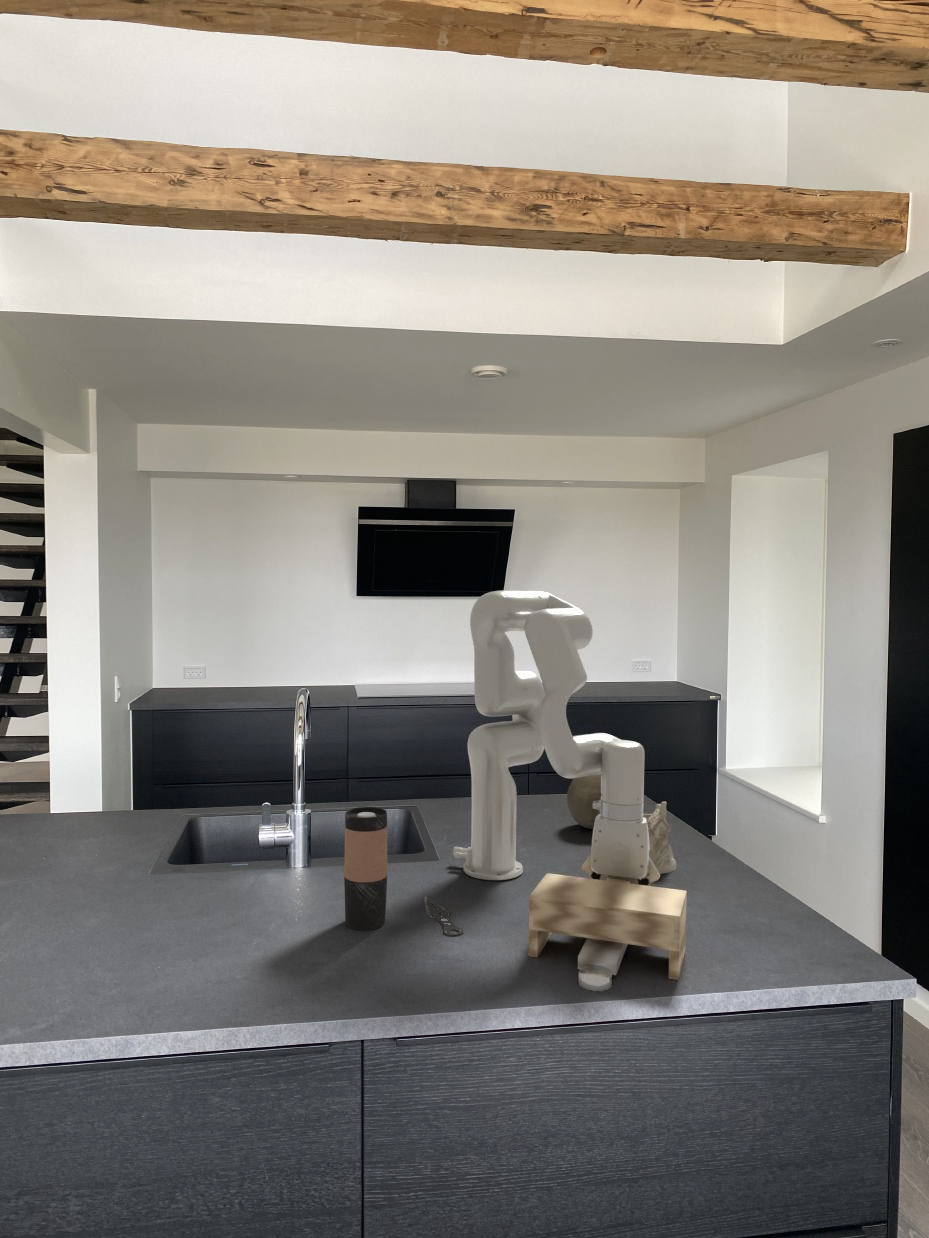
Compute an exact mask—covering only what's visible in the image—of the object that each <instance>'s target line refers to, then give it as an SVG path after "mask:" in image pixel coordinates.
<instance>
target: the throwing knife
mask: <svg viewBox="0 0 929 1238" xmlns="http://www.w3.org/2000/svg"><path fill="white" fill-rule="evenodd" d="M433 905H434V906H433ZM424 906H425V907H426V908H425V910H426V911H427V912H426V914H427V916H428V915H429V916H432V917H435V918H434V919H435V920H437V919H438V920H439V921H438V920H437V921H438V922H439V924H440V923H441V924H442V925H441V924H440V925H441V927H442V928H443V929H444V930H443V929H442V930H443V935H445V936H447V935H449V936H448V937H458V936H457V935H459V936H462V935H463V934H464V930H463V928H461V927H459V926H457V925H455V923H453V921H452V920H451V919H450V918H449V916H448V914H450V913H451V912H450V911H449V910H447V909H446V908H444V907H443V906H442V905H441V904H439V903H437V902H436V901H434V900H433V899H431V898H429V897H428V896H424ZM435 908H436V909H435ZM449 912H450V913H449ZM450 915H451V914H450ZM429 916H428V917H429ZM441 916H442V917H441ZM432 917H431V918H432ZM441 919H447V920H448V921H441ZM444 923H450V924H451V925H448V924H444ZM453 930H455V931H454V932H455V933H452V932H451V931H453ZM449 931H450V932H449ZM457 931H459V932H457ZM461 934H462V935H461Z"/></svg>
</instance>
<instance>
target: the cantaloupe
mask: <svg viewBox="0 0 929 1238" xmlns="http://www.w3.org/2000/svg"><path fill="white" fill-rule="evenodd" d="M570 782H571V783H570V785H569V786H568V788H567V789H568V790H567V793H566V794H567V795H566V803H567V807H568V810H569V811H568V812H570V815H571V818H572V819H573V821H575V822H576V823H577V824H578V825H580V826H581V827H583V828H585V829H590V830H593V829H594V823H595V819H596V816H597V815H599V814H600V811H599V810H597V809H594V808H593V801H599V800H600V799H601V774H598V775H590V776H584V777H579V778H572V781H570Z"/></svg>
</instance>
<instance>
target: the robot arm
mask: <svg viewBox="0 0 929 1238" xmlns="http://www.w3.org/2000/svg"><path fill="white" fill-rule="evenodd" d="M469 619H470V621H469V626H470V633H471V637H472V638H471V639H472V642H473V643H472V644H473V651H474V655H473V656H474V657H473V659H474V660H473V663H474V665H473V668H474V669H473V670H474V671H473V672H474V678H473V679H474V685H473V686H474V687H473V688H474V703H475V707H476V709H477V711H478V712H479V714H481V715H483V716H485V717H504V716H505V717H506V716H511V717H512V720H509V721H508V720H507V721H498V722H490V723H485V724H481V725H479V726H477V727H476V728H474V729H473V730H472V731H471V732H470V734H469V736H468V739H467V754H468V760H469V766H470V775H471V825H470V826H471V829H470V830H471V832H470V833H471V835H470V836H471V837H470V839H471V841H470V846H468V847H467V848H466V847H463V846H453V849H452V854H453V855H452V856H454V859H458V860H465V861H466V862H464V863H463V872H464V873H465V874H466V875H468V876H469V877H472V878H475V879H479V880H485V881H506V880H511V879H514V878H517V877H519V876H521V875H522V874H523V871H524V867H523V864H522V863H521V862H519V861H517V860H516V859H517V856H516V854H517V849H516V848H517V795H518V794H517V785H516V783H515V780H514V777H513V776H512V774H511V773H510V771H509V768H511V767H515V766H521V765H526V764H527V765H528V764H531V763H533V762H536V761H539V759H540V758H541V757H542V755H543V753H544V751H545V754H546V757H547V759H548V761H549V763H550V765H551V767H552V768H553V770H554V771H555V772H556V773H557V774H558V775H559V776H561V777H563V778H565V779H574V778H579V777H584V776H590V775H598V774H601V799H600V800H599V801H593V808H594V809H597V810H599V811H600V814H599V815H597V816H596V819H595V823H594V829H592V836H591V837H592V838H591V850H590V851H591V852H590V855H588V856H587V859H586V860H585V861H584V862H583V864H582V865H581V870H582V871H583V872H585V874H587V875H588V876H590V878H591V879H597V880H605V881H607V878H608V876H609V875H611V876H619V877H627V878H631V884H637V885H645V886H649V885H650V884H652V883H654V882H656V881H658V880H659V879H660V877H661V874H660V873H659V872H658V870H657V868H656V867H655V865H654V863H653V862H652V860H651V859H650V844H649V832H648V825H647V820H646V818H644V817H643V814H644V796H645V795H644V793H645V792H644V791H645V790H644V789H645V759H646V758H645V753H646V752H645V748H644V746H643V745H642V744H641V743H639V742H637V741H633V740H627V739H620V738H618V737H617V736H614V735H611V734H610V733H609V734H608V733H605V732H595V733H590V734H589V733H586V734H578V735H573V734H572V731H571V729H570V726H569V722H568V718H567V705H568V701H569V699H570V698H571V696H572V695H573V694H575V693H576V692H578V691H579V690H580V689H581V688H583V687H584V685H585V684H586V683H587V680H588V676H587V672H586V670H585V667H584V665H583V662H582V659H581V655H580V654H579V652H578V650H582V649H584V648H586V647H588V645H589V644H590V643H591V642H592V641H591V640H592V638H593V625H592V622H591V621H590V618H589V617H588V615H587V614H586V613H585V612H584V611H583V610H582V609H581V608H579V607H577V606H575V605H573V604H572V603H569V602H567V601H565V600H563V599H561V598H559V597H557V596H555V595H553V594H551V593H549V592H546V591H542V590H510V589H508V590H506V589H505V590H503V589H502V590H495V591H490V592H487V593H484V594H483V595H481V596H480V597H478V599H477V600H476V601H475V602H474V604H473V606H472V609H471V612H470V618H469ZM507 632H524V634H525V635H524V636H525V637H526V640H527V643H528V645H529V649H530V652H531V655H532V657H533V659H534V663H535V666H536V668H537V671H538V673H539V676H538V675H537V674H536V673H535V672H533V671H531V670H526V669H516V668H515V667H516V666H515V650H514V647H513V644H512V643H511V640H510V638H509V637H508V636H507V634H506V633H507ZM515 669H516V670H515ZM648 871H649V873H650V874H647V873H648Z"/></svg>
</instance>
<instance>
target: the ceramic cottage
mask: <svg viewBox="0 0 929 1238" xmlns="http://www.w3.org/2000/svg"><path fill="white" fill-rule="evenodd" d="M667 814H668V813H667V801H661V802H660V803H657V804H655V808H654V812H653V813H643V817H644V818H646V820H647V825H648V832H649V844H650V859H651V860H652V862H653V863H654V865H655V867H656V868H657V870H658V872H659V873H660V875H662V874H669V873H672V872H674V871H675V870H676V869H677V867H678V866H677V861H676V859H675V858H674V852H673V851H672V847H671V844H669V843H670V834H671V832H672V827H671V826H670V824H669V822H667V820H666V817H667ZM649 874H650V873H649V871H648V873H647V875H649Z"/></svg>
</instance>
